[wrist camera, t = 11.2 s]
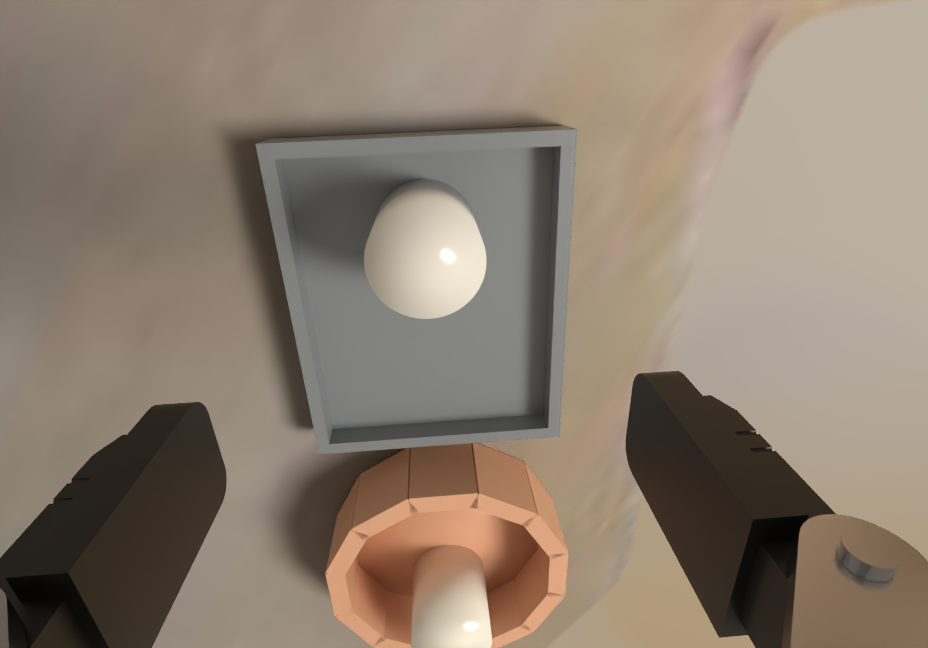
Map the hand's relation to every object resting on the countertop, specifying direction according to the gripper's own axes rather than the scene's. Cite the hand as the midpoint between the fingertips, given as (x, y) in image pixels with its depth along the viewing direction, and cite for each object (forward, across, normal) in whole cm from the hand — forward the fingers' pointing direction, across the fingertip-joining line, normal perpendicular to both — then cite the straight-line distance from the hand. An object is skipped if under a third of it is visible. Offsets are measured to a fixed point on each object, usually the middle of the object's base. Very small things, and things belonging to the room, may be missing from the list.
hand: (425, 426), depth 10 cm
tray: (+15, 0, +3) cm, 15 cm away
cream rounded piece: (+14, 0, 0) cm, 14 cm away
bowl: (+15, 0, +19) cm, 24 cm away
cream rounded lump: (+14, 0, +22) cm, 26 cm away
